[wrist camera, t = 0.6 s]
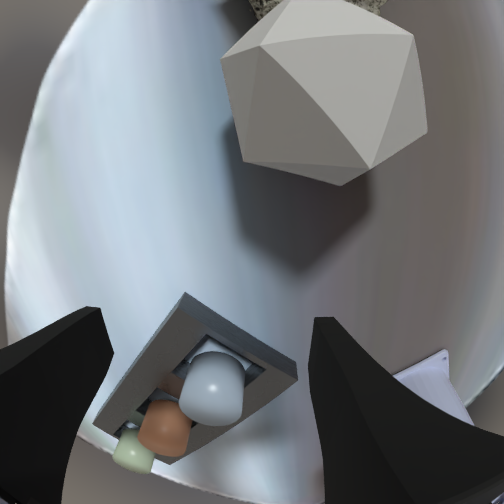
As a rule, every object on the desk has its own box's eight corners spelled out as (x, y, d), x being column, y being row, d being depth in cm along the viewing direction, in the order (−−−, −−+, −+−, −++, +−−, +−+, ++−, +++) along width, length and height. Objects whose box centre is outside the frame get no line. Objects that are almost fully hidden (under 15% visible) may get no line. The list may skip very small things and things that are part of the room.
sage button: (129, 423, 23) (118, 450, 20) (164, 442, 24) (156, 469, 21) (118, 435, 25) (108, 459, 21) (149, 452, 25) (142, 476, 22)
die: (346, 190, 18) (492, 156, 9) (211, 212, 14) (372, 145, 5) (313, 72, 17) (424, -2, 8) (183, 64, 13) (268, -79, 4)
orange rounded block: (160, 393, 21) (148, 425, 18) (201, 415, 22) (194, 447, 19) (142, 411, 22) (130, 440, 19) (179, 431, 23) (172, 460, 20)
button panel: (185, 292, 20) (177, 307, 18) (296, 362, 22) (297, 380, 20) (98, 411, 26) (92, 424, 24) (173, 451, 28) (169, 464, 26)
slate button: (208, 342, 19) (199, 379, 15) (256, 370, 19) (254, 408, 16) (179, 372, 20) (168, 407, 17) (224, 397, 21) (219, 432, 17)
